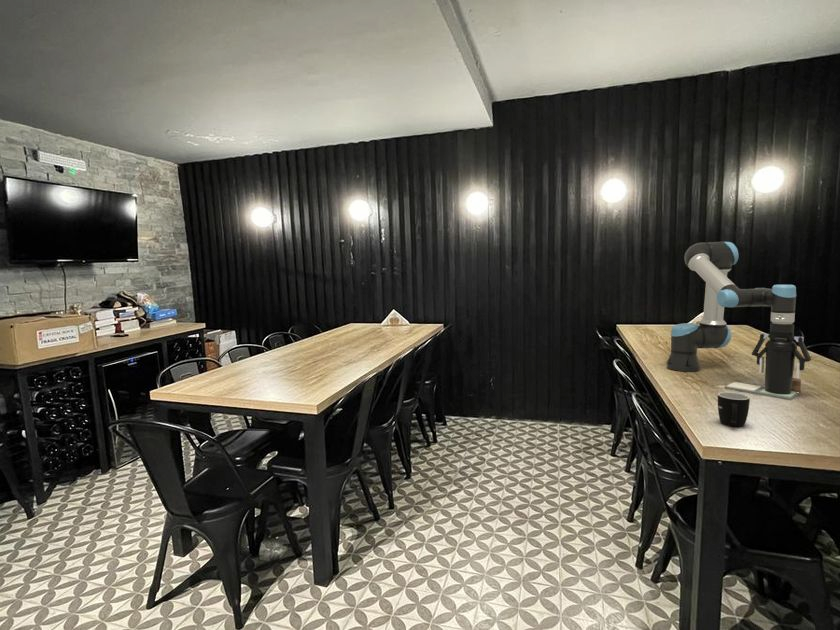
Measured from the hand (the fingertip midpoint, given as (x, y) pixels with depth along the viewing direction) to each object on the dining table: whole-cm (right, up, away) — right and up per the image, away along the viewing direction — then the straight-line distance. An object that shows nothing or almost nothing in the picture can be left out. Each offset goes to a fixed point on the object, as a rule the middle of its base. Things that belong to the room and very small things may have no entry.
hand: (779, 375), depth 182 cm
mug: (-41, -13, -30) cm, 52 cm away
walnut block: (+10, -7, +5) cm, 14 cm away
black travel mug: (0, -7, +1) cm, 7 cm away
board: (-3, -8, +6) cm, 10 cm away
